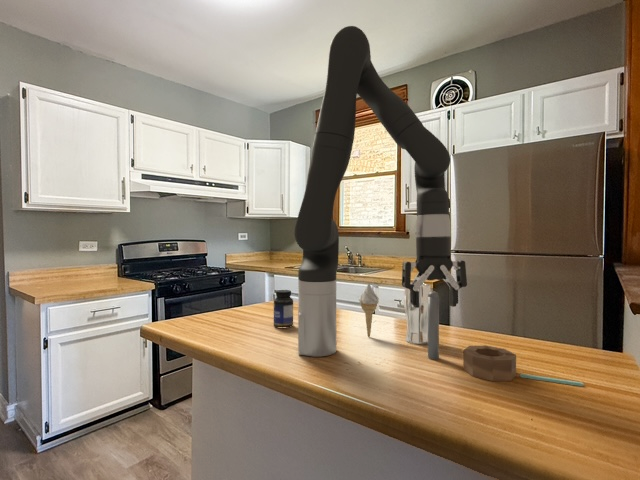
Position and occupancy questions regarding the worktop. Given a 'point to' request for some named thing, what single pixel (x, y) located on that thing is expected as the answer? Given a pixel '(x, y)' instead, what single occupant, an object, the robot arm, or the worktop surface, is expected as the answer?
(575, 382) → the teal thin bar
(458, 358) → the worktop surface
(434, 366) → the worktop surface
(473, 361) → the bead
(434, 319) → the grey rounded rod
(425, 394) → the worktop surface
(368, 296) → the ice cream cone
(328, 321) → the robot arm
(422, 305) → the beer glass
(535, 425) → the worktop surface
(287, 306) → the pill bottle
